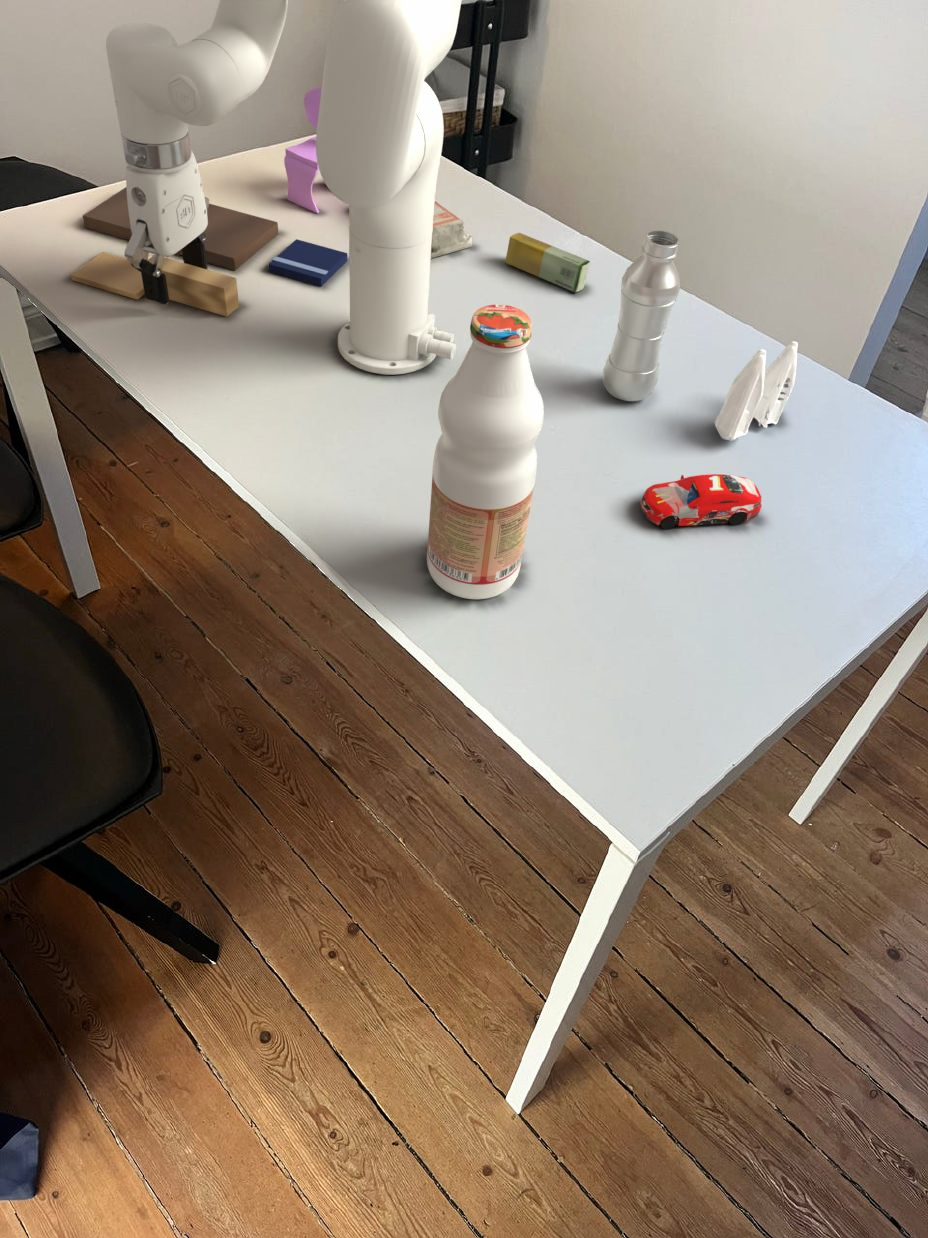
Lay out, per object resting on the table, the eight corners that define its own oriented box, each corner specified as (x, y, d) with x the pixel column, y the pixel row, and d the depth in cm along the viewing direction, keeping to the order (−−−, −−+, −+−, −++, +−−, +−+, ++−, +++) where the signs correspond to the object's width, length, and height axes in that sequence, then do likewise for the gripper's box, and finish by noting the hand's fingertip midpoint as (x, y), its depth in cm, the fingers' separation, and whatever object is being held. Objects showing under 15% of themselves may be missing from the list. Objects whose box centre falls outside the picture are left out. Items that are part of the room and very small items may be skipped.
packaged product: (477, 215, 139) (419, 231, 135) (474, 247, 143) (418, 264, 138) (405, 165, 148) (349, 179, 144) (404, 197, 152) (349, 211, 147)
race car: (645, 532, 104) (653, 503, 101) (632, 498, 108) (639, 469, 105) (762, 526, 106) (773, 498, 103) (745, 493, 110) (756, 465, 107)
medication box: (585, 288, 138) (592, 260, 135) (576, 294, 136) (583, 266, 133) (512, 257, 141) (518, 230, 139) (503, 262, 140) (508, 235, 137)
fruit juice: (427, 601, 95) (445, 350, 74) (424, 535, 101) (440, 285, 81) (523, 603, 96) (567, 354, 75) (515, 536, 102) (553, 290, 81)
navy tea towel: (347, 260, 138) (347, 252, 137) (321, 286, 132) (321, 277, 131) (296, 246, 139) (296, 238, 138) (268, 271, 134) (268, 262, 133)
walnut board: (278, 233, 141) (277, 221, 140) (235, 270, 133) (234, 258, 132) (134, 194, 146) (132, 182, 145) (85, 227, 138) (82, 215, 137)
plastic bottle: (656, 410, 119) (697, 255, 104) (600, 405, 119) (634, 249, 104) (650, 379, 124) (689, 226, 109) (597, 375, 123) (629, 221, 109)
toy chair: (279, 198, 149) (273, 92, 137) (319, 180, 154) (316, 77, 142) (320, 216, 146) (317, 110, 134) (360, 198, 151) (359, 94, 139)
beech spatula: (247, 299, 129) (244, 270, 126) (219, 324, 124) (215, 295, 122) (103, 257, 133) (98, 228, 130) (71, 280, 129) (64, 251, 126)
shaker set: (727, 453, 115) (755, 373, 106) (700, 435, 117) (725, 354, 108) (789, 418, 120) (820, 339, 112) (762, 401, 122) (791, 322, 114)
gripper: (141, 183, 108) (164, 324, 121) (224, 128, 119) (237, 262, 132) (83, 167, 109) (112, 308, 122) (170, 114, 121) (188, 248, 134)
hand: (177, 284), depth 127 cm, fingers open, 8 cm apart
